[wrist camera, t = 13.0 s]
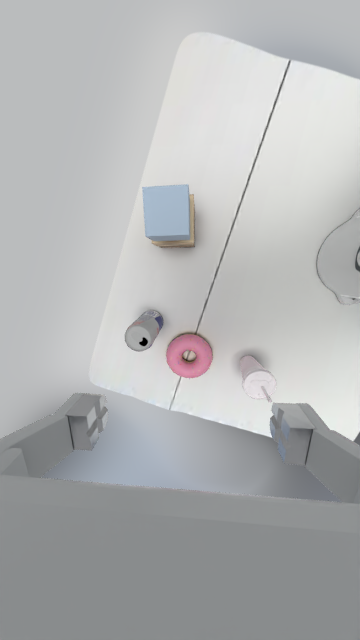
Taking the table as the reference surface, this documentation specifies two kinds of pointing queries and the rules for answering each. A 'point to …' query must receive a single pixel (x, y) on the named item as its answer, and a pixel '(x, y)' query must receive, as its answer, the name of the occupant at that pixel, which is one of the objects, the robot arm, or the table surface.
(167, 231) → the blue block
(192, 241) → the tower top
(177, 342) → the doughnut
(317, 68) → the table surface
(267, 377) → the smoothie
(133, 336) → the energy drink
